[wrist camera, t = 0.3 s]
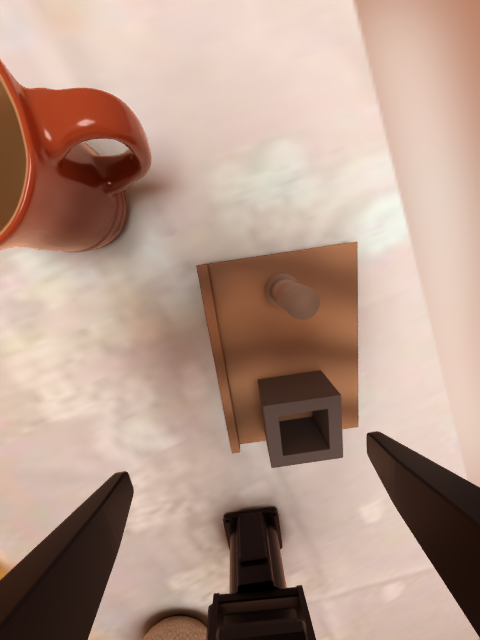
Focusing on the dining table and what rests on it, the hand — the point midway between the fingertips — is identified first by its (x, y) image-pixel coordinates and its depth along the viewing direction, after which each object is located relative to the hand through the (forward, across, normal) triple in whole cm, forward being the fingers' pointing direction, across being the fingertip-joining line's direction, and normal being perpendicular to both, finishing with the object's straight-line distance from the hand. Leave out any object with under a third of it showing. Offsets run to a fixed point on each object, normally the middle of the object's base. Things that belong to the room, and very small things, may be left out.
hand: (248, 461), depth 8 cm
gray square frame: (+12, -4, +7) cm, 14 cm away
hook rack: (+13, -4, +2) cm, 14 cm away
